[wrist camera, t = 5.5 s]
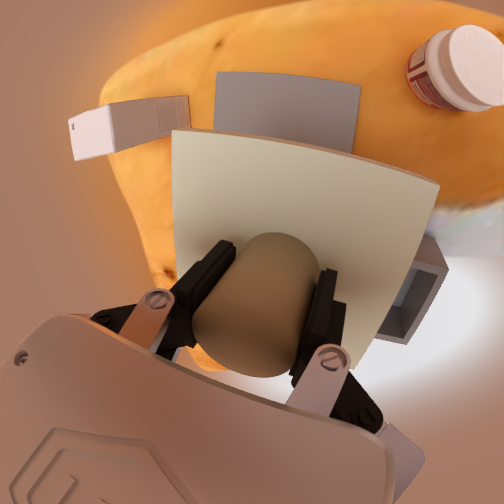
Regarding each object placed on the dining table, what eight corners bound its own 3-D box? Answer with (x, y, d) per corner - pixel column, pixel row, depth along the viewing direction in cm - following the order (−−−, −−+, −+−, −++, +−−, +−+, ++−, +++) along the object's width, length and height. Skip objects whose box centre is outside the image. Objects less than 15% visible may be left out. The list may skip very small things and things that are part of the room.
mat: (360, 86, 20) (361, 86, 20) (337, 221, 27) (337, 223, 27) (218, 72, 23) (216, 72, 23) (213, 195, 31) (211, 196, 30)
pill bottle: (465, 112, 17) (528, 124, 8) (408, 106, 19) (449, 107, 10) (457, 53, 14) (513, 31, 5) (399, 45, 16) (430, 7, 7)
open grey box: (434, 238, 24) (448, 269, 19) (402, 308, 30) (406, 344, 25) (348, 215, 27) (347, 242, 22) (327, 290, 32) (320, 325, 27)
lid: (434, 179, 10) (489, 245, 5) (355, 357, 16) (341, 439, 11) (183, 127, 12) (89, 154, 8) (188, 305, 19) (140, 366, 14)
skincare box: (151, 136, 29) (73, 162, 20) (147, 103, 27) (66, 118, 18) (193, 131, 28) (114, 154, 18) (189, 94, 25) (107, 101, 16)
